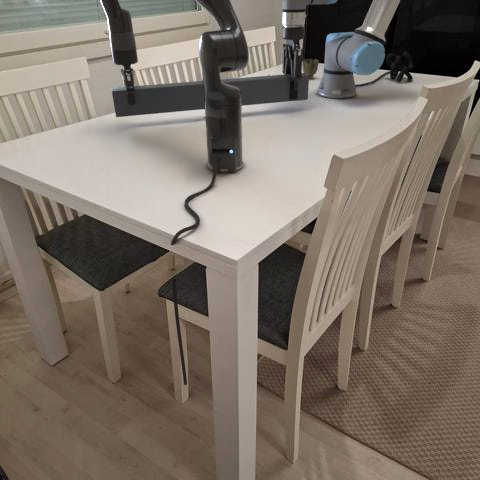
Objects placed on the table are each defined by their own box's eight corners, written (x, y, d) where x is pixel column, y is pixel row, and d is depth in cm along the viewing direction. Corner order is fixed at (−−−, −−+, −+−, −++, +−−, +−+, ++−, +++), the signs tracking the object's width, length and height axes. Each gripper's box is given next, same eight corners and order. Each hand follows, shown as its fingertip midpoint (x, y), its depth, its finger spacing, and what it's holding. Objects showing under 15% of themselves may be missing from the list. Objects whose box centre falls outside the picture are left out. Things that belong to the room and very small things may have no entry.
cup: (298, 79, 205) (299, 60, 201) (304, 76, 210) (305, 58, 206) (314, 80, 202) (315, 62, 198) (319, 77, 207) (321, 59, 203)
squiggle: (400, 92, 202) (376, 71, 205) (417, 76, 202) (392, 56, 205) (405, 81, 191) (380, 59, 194) (423, 64, 191) (397, 42, 194)
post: (116, 117, 146) (111, 91, 141) (115, 113, 149) (111, 87, 145) (307, 99, 160) (309, 75, 156) (302, 96, 164) (304, 72, 160)
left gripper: (137, 49, 133) (145, 107, 142) (134, 43, 145) (141, 96, 154) (111, 51, 131) (121, 109, 140) (110, 44, 143) (119, 98, 152)
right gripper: (314, 28, 142) (310, 102, 154) (294, 22, 156) (291, 90, 169) (292, 29, 140) (289, 104, 152) (274, 23, 155) (272, 92, 167)
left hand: (131, 102), depth 147 cm, fingers closed on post, 4 cm apart
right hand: (290, 97), depth 160 cm, fingers closed on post, 5 cm apart
